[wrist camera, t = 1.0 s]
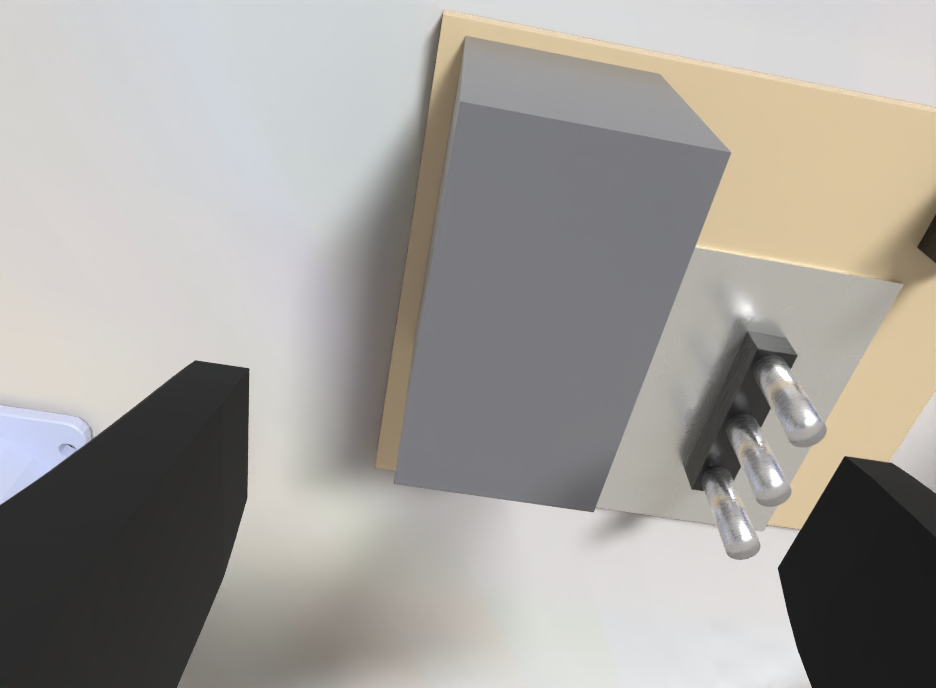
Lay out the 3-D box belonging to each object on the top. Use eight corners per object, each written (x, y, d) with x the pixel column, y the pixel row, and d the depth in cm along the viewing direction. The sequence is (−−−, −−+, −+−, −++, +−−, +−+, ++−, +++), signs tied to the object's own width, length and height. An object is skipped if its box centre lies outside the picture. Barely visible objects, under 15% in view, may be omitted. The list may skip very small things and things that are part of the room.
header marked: (761, 528, 22) (803, 624, 19) (592, 504, 21) (609, 598, 19) (901, 282, 17) (982, 360, 15) (690, 245, 17) (732, 317, 14)
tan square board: (832, 520, 22) (840, 535, 22) (377, 453, 21) (374, 468, 21) (1076, 136, 16) (1096, 144, 16) (444, 9, 15) (443, 14, 14)
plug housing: (568, 369, 19) (593, 512, 15) (413, 344, 18) (393, 484, 14) (660, 73, 15) (731, 152, 11) (465, 35, 15) (460, 101, 10)
